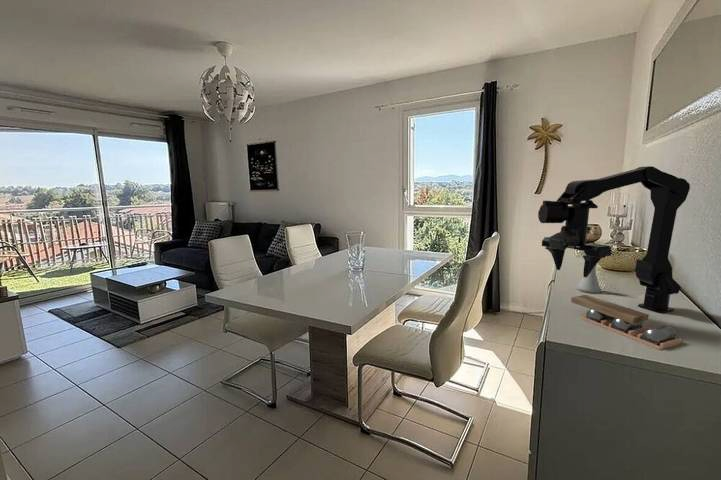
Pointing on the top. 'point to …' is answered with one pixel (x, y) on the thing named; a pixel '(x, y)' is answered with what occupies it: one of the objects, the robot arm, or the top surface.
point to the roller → (659, 335)
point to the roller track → (635, 332)
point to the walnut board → (610, 309)
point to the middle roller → (625, 325)
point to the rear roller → (597, 316)
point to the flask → (589, 283)
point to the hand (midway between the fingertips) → (571, 273)
